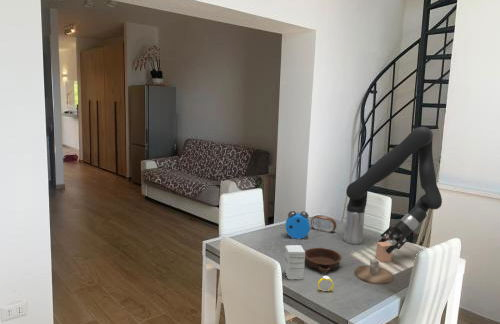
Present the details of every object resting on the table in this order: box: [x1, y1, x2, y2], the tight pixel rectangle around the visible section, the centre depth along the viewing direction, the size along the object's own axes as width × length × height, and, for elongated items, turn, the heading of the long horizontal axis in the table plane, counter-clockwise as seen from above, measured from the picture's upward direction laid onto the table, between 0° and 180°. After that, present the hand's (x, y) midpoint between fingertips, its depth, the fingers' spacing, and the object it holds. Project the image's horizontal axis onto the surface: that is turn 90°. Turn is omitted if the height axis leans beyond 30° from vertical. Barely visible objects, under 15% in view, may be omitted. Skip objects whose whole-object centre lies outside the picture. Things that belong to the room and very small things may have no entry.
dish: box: [304, 247, 343, 274], centre depth 175 cm, size 17×22×5 cm
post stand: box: [354, 258, 394, 285], centre depth 165 cm, size 16×16×7 cm
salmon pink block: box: [375, 241, 393, 263], centre depth 182 cm, size 5×5×8 cm
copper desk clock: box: [310, 215, 337, 233], centre depth 221 cm, size 15×3×8 cm, turn 58°
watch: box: [317, 275, 334, 291], centre depth 151 cm, size 6×3×6 cm, turn 89°
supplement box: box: [283, 244, 306, 279], centre depth 163 cm, size 7×7×13 cm
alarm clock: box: [285, 210, 311, 240], centre depth 209 cm, size 13×6×15 cm, turn 86°
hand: (382, 248), depth 182 cm, fingers open, 8 cm apart
